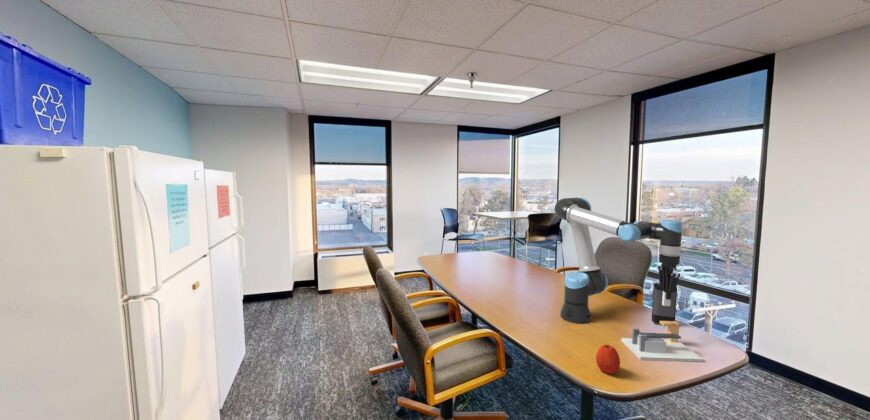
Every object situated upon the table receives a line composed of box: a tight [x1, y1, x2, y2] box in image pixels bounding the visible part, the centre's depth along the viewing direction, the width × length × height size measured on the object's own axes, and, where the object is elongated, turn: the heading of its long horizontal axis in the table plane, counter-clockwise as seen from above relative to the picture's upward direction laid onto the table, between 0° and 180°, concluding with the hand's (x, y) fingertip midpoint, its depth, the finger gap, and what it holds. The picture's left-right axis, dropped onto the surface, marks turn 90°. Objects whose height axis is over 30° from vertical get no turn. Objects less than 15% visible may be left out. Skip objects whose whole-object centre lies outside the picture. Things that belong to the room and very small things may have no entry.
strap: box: [635, 332, 682, 340], centre depth 139 cm, size 17×4×1 cm, turn 86°
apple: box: [595, 344, 621, 375], centre depth 124 cm, size 8×8×11 cm
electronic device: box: [651, 282, 678, 326], centre depth 165 cm, size 9×6×20 cm, turn 71°
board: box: [620, 327, 704, 363], centre depth 139 cm, size 24×16×8 cm, turn 86°
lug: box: [660, 320, 680, 342], centre depth 145 cm, size 6×3×8 cm, turn 86°
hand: (666, 305), depth 147 cm, fingers closed
